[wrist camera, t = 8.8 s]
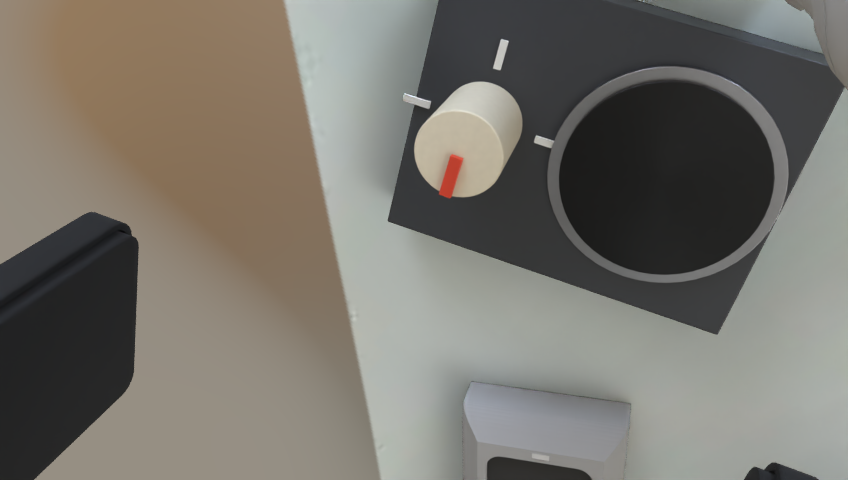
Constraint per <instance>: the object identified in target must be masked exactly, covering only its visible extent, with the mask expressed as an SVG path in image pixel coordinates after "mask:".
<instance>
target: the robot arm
mask: <svg viewBox="0 0 848 480" xmlns="http://www.w3.org/2000/svg"><path fill="white" fill-rule="evenodd" d="M138 248H139V247H138V241H137V239H136V238H135V237H133V236H132V234H131V230H130V227H129V226H128V225H127V224H125V223H122V222H120V221H117V220H114V219H111V218H109V217H106V216H103V215H101V214H98V213H95V212H89V213H86V214H84V215H82V216H81V217H79V218H78V219H76V220H74V221H72V222H71V223H69V224H67V225H66V226H64V227H62V228H61V229H59V230H57V231H56V232H54V233H52V234H51V235H49V236H47V237H46V238H44V239H42V240H41V241H39V242H37V243H35V244H34V245H32V246H30V247H29V248H27V249H25V250H24V251H22V252H20V253H19V254H17V255H15V256H14V257H12V258H11V259H9V260H7V261H6V262H4V263H2V264H0V480H34V479H35V478H36V477H37V476H38V475H39V474H40V473H41V472H42V471H43V470H44V469H45V468H46V467H47V466H49V465H50V464H51V463H52V462H53V461H54V460H55V459H56V458H57V457H58V456H59V455H60V454H61V453H62V452H63V451H64V450H65V449H66V448H67V447H68V446H69V445H71V444H72V443H73V442H74V441H75V440H76V439H77V438H78V437H79V436H80V435H81V434H82V433H83V432H84V431H85V430H86V429H87V428H88V427H89V426H90V425H91V424H92V423H93V422H95V420H97V419H98V418H99V417H100V416H101V415H102V414H103V413H104V412H105V411H106V410H107V409H108V408H109V407H110V406H111V405H112V404H113V403H114V402H115V401H116V400H117V399H119V397H121V396H122V394H123V393H124V392H125V391H126V389H127V388H128V386H129V385H130V382H131V380H132V377H133V373H134V353H135V325H136V301H137V273H138ZM744 480H818V479H817V478H816V477H813V476H810V475H808V474H805V473H802V472H799V471H797V470H794V469H791V468H789V467H786V466H783V465H780V464H778V463H771V464H769V465H768V466H767V467H766V468H765V470H763V469H760V468H757V467H753V468H752V469H751V470H750V471H749V473H748V474H747V476H746V477H745V479H744Z"/></svg>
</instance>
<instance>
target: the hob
mask: <svg viewBox="0 0 848 480" xmlns="http://www.w3.org/2000/svg"><path fill="white" fill-rule="evenodd" d="M660 65H680V66H690V67H696V68H700V69H704V70H709V71H711V72H714V73H717V74H719V75H722V76H724V77H726V78H728V79H730V80H732V81H734V82H736V83H738V84H739V85H740V86H742V87H743V88H745V89H746V90H747V91H749V92H750V93H751V94H752V95H753V96H754V97H755V98H757V99H758V100H759V101H760V102H761V103H762V104H763V106H764V107H765V108H766V110H767V111H768V112H769V113H770V115H771V116H772V118H773V120H774V121H775V123H776V125H777V127H778V129H779V131H780V133H781V136H782V139H783V141H784V144H785V148H786V153H787V158H788V173H789V176H788V185H787V192H786V196H785V199H784V203H783V206H784V204H785V202H786V200H787V198H788V196H789V195H790V193H791V191H792V189H793V187H794V185H795V183H796V181H797V179H798V177H799V175H800V173H801V171H802V169H803V167H804V165H805V163H806V161H807V159H808V158H809V156H810V154H811V152H812V150H813V148H814V146H815V144H816V142H817V140H818V138H819V136H820V134H821V132H822V130H823V128H824V126H825V124H826V122H827V121H828V119H829V117H830V115H831V113H832V111H833V109H834V107H835V105H836V103H837V101H838V99H839V97H840V95H841V93H842V91H843V89H844V87H845V86H844V85H843V84H842V83H841V81H840V80H839V79H838V78H837V77H836V76H835V74H834V73H833V72H832V71H831V69H830V67H829V65H828V63H827V61H826V58H825V56H824V54H820V53H817V52H813V51H810V50H806V49H803V48H799V47H796V46H792V45H789V44H785V43H782V42H779V41H775V40H772V39H768V38H765V37H761V36H758V35H754V34H751V33H747V32H744V31H740V30H737V29H733V28H730V27H727V26H723V25H720V24H716V23H713V22H709V21H706V20H702V19H699V18H695V17H692V16H688V15H685V14H681V13H678V12H675V11H671V10H668V9H664V8H661V7H657V6H654V5H650V4H647V3H643V2H640V1H636V0H439V2H438V6H437V11H436V15H435V19H434V24H433V28H432V32H431V37H430V41H429V45H428V49H427V54H426V58H425V62H424V67H423V71H422V75H421V80H420V84H419V88H418V93H417V97H415V96H412V95H409V94H406V93H405V94H404V96H403V101H405V102H408V103H411V104H415V105H414V110H413V114H412V118H411V123H410V127H409V131H408V136H407V140H406V144H405V148H404V153H403V157H402V161H401V166H400V170H399V174H398V179H397V183H396V187H395V192H394V196H393V200H392V204H391V209H390V213H389V217H388V221H389V222H391V223H394V224H397V225H400V226H403V227H406V228H409V229H412V230H415V231H417V232H420V233H423V234H426V235H429V236H432V237H435V238H438V239H441V240H444V241H446V242H449V243H452V244H455V245H458V246H461V247H464V248H467V249H470V250H473V251H475V252H478V253H481V254H484V255H487V256H490V257H493V258H496V259H499V260H502V261H504V262H507V263H510V264H513V265H516V266H519V267H522V268H525V269H528V270H531V271H533V272H536V273H539V274H542V275H545V276H548V277H551V278H554V279H557V280H560V281H562V282H565V283H568V284H571V285H574V286H577V287H580V288H583V289H586V290H589V291H591V292H594V293H597V294H600V295H603V296H606V297H609V298H612V299H615V300H618V301H620V302H623V303H626V304H629V305H632V306H635V307H638V308H641V309H644V310H647V311H649V312H652V313H655V314H658V315H661V316H664V317H667V318H670V319H673V320H676V321H678V322H681V323H684V324H687V325H690V326H693V327H696V328H699V329H702V330H705V331H707V332H710V333H713V334H716V335H717V334H718V333H719V331H720V329H721V327H722V325H723V323H724V321H725V319H726V317H727V315H728V313H729V311H730V309H731V308H732V306H733V304H734V302H735V300H736V298H737V296H738V294H739V292H740V290H741V288H742V286H743V284H744V282H745V280H746V278H747V276H748V274H749V272H750V270H751V269H752V267H753V265H754V263H755V261H756V259H757V257H758V255H759V253H760V251H761V249H762V247H763V245H764V243H765V241H766V239H767V237H768V235H769V233H770V232H771V230H772V228H773V226H774V224H775V223H774V224H773V226H772V228H771V229H770V231H769V232H768V233H767V235H766V236H765V237H764V238H763V240H762V241H761V242H760V243H759V244H758V245H757V246H756V247H755V248H754V249H753V250H752V251H751V252H750V253H748V254H747V255H746V256H744V257H743V258H742V259H740V260H739V261H738V262H736V263H734V264H732V265H731V266H729V267H727V268H725V269H724V270H721V271H719V272H716V273H714V274H712V275H709V276H706V277H702V278H699V279H695V280H690V281H684V282H674V283H656V282H646V281H640V280H635V279H631V278H628V277H624V276H621V275H619V274H616V273H614V272H611V271H609V270H607V269H605V268H604V267H602V266H600V265H598V264H597V263H595V262H594V261H592V260H591V259H590V258H588V257H587V256H585V255H584V254H583V253H582V252H581V251H580V250H579V249H578V248H577V247H576V246H575V245H574V244H573V243H572V242H571V240H570V239H569V238H568V237H567V236H566V234H565V232H564V231H563V229H562V228H561V226H560V225H559V223H558V220H557V218H556V216H555V214H554V212H553V208H552V205H551V202H550V198H549V192H548V184H547V170H548V162H549V156H550V153H551V149H552V145H553V143H554V140H555V138H556V135H557V133H558V131H559V129H560V127H561V126H562V124H563V122H564V120H565V119H566V117H567V116H568V115H569V114H570V112H571V111H572V110H573V108H574V107H575V106H576V105H577V104H578V103H579V102H580V101H581V100H582V99H583V98H584V97H585V96H586V95H588V94H589V93H590V92H592V91H593V90H594V89H596V88H597V87H598V86H600V85H602V84H604V83H605V82H607V81H609V80H610V79H612V78H615V77H617V76H620V75H622V74H624V73H627V72H630V71H634V70H637V69H641V68H646V67H652V66H660ZM472 82H489V83H492V84H495V85H498V86H500V87H501V88H503V89H505V90H506V91H507V92H508V93H509V94H510V95H511V96H512V97H513V98H514V99H515V101H516V102H517V104H518V106H519V108H520V111H521V114H522V132H521V136H520V138H519V141H518V143H517V144H516V146H515V148H514V150H513V152H512V154H511V155H510V157H509V159H508V161H507V163H506V165H505V166H504V168H503V170H502V172H501V174H500V176H499V177H498V179H497V180H496V182H495V183H494V184H493V185H492V186H491V187H490V188H489V189H487V190H486V191H484V192H482V193H480V194H478V195H475V196H471V197H454V196H452V197H451V198H447V197H444V196H442V195H439V192H440V191H438V190H436V189H435V188H434V187H432V186H431V185H430V184H429V183H428V182H427V181H426V180H425V179H424V177H423V176H422V174H421V173H420V171H419V169H418V167H417V164H416V160H415V154H414V145H415V140H416V137H417V134H418V132H419V130H420V128H421V127H422V125H423V124H424V123H425V122H426V121H427V120H428V119H429V118H430V117H431V115H432V114H433V113H434V112H435V111H436V110H437V109H438V108H439V107H440V106H441V105H442V104H443V103H444V102H445V101H446V100H447V99H448V98H449V96H450V95H451V94H452V93H453V92H454V91H455V90H457V89H458V88H460V87H461V86H463V85H466V84H468V83H472ZM783 206H782V208H783ZM782 208H781V210H782ZM780 212H781V211H780ZM779 214H780V213H779ZM778 216H779V215H778ZM776 220H777V219H776ZM775 222H776V221H775Z"/></svg>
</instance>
